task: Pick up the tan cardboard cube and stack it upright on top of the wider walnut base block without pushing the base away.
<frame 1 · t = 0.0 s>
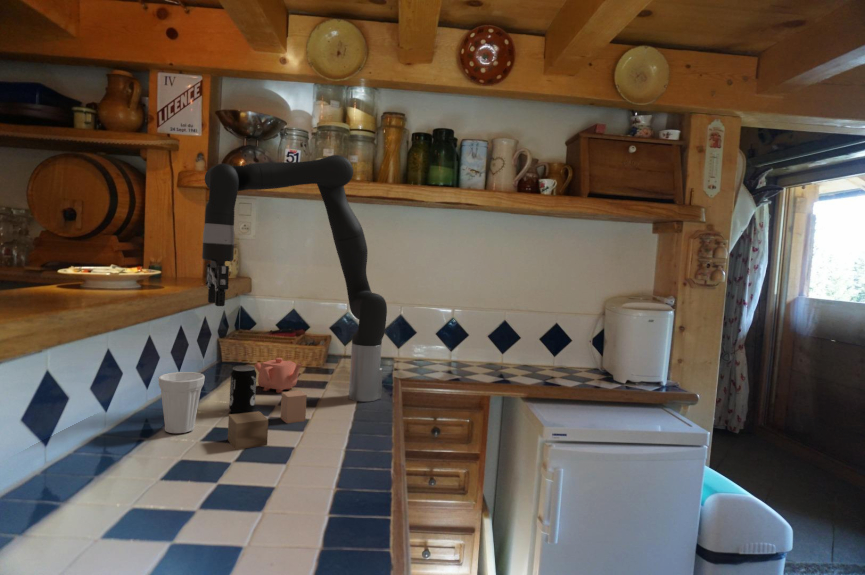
hand: (215, 304, 136), 29 cm above the counter, fingers open, 8 cm apart
beverage can: (241, 411, 142), on the counter
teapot: (277, 390, 167), on the counter
cup: (179, 431, 124), on the counter
tan cardboard cube: (292, 419, 138), on the counter
base block: (247, 442, 119), on the counter
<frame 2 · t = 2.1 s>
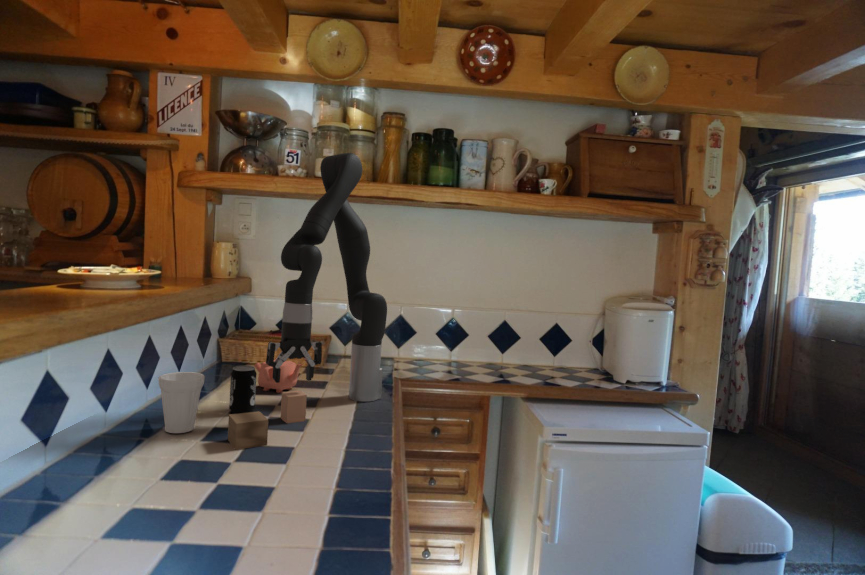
hand: (292, 381, 137), 10 cm above the counter, fingers open, 8 cm apart
nothing on the counter moved.
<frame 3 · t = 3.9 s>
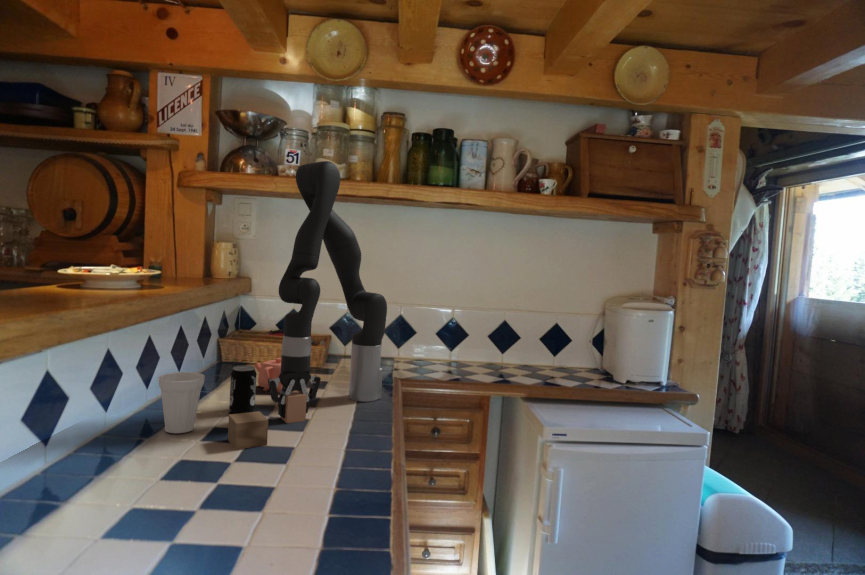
hand: (292, 415, 138), 1 cm above the counter, fingers closed on tan cardboard cube, 5 cm apart
tan cardboard cube: (292, 419, 138), on the counter, touching gripper
everything else where it was.
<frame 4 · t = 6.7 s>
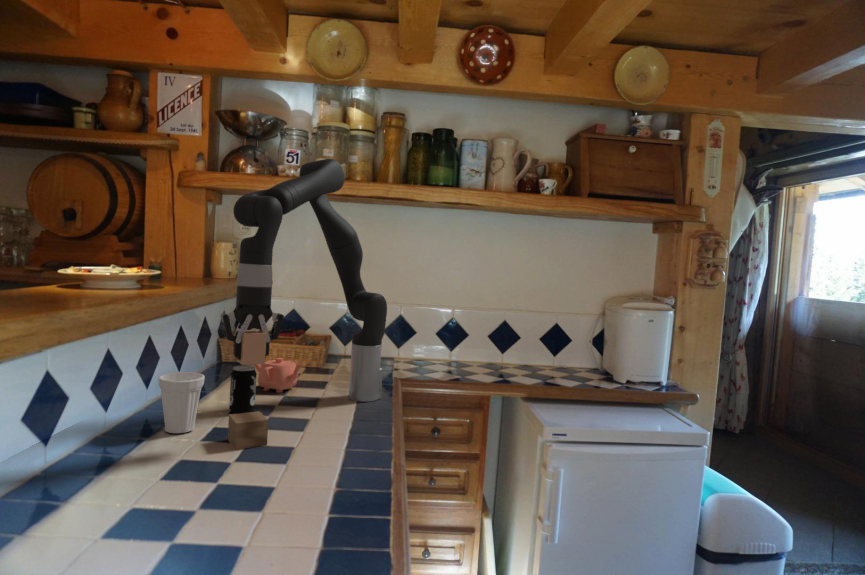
hand: (250, 358, 119), 20 cm above the counter, fingers closed on tan cardboard cube, 5 cm apart
tan cardboard cube: (250, 362, 119), point 19 cm above the counter, touching gripper
everything else where it was.
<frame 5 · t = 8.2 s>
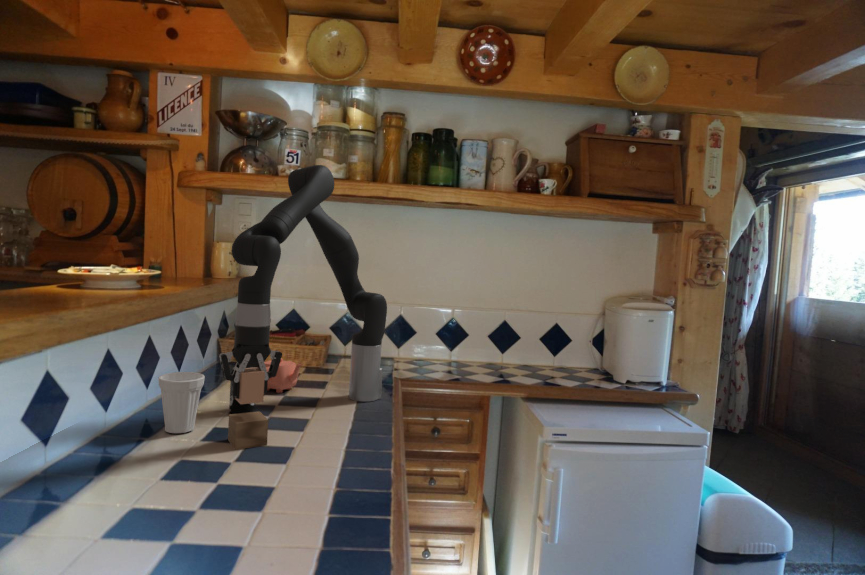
hand: (249, 396, 119), 11 cm above the counter, fingers closed on tan cardboard cube, 5 cm apart
tan cardboard cube: (249, 400, 119), point 10 cm above the counter, touching gripper
everything else where it was.
when the fingers open (8 cm above the counter, at t = 9.7 s): tan cardboard cube drops 1 cm, resting on base block.
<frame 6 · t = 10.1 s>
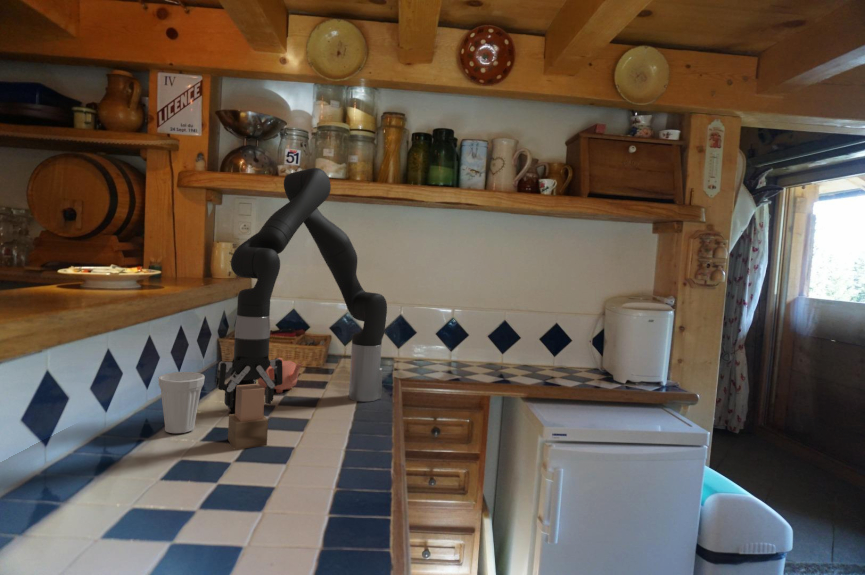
hand: (249, 405, 119), 9 cm above the counter, fingers open, 8 cm apart
tan cardboard cube: (249, 417, 119), point 6 cm above the counter, touching base block
base block: (247, 442, 119), on the counter, touching tan cardboard cube
everything else where it was.
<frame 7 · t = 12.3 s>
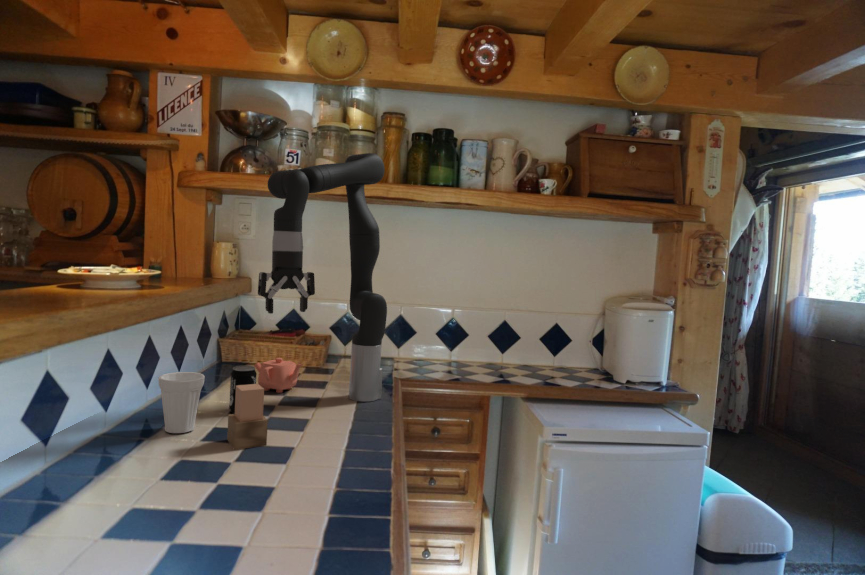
hand: (286, 312, 134), 29 cm above the counter, fingers open, 8 cm apart
nothing on the counter moved.
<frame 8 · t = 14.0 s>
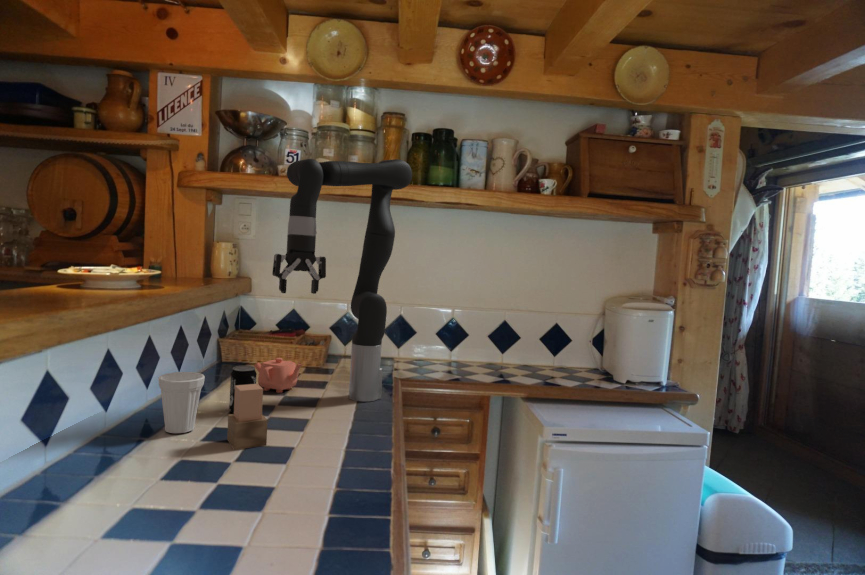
hand: (298, 293, 142), 33 cm above the counter, fingers open, 8 cm apart
tan cardboard cube: (247, 417, 119), point 6 cm above the counter
base block: (246, 442, 119), on the counter
everything else where it was.
at the end: tan cardboard cube 0.1 cm off-centre on the base block, point 6.0 cm above the base block's base; tan cardboard cube tilted 0°; base block moved 0.2 cm from its start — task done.
